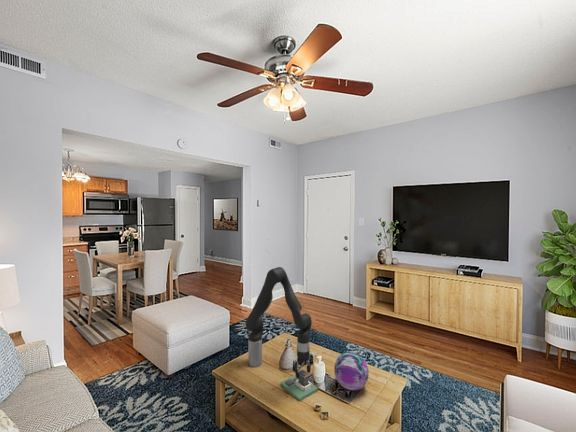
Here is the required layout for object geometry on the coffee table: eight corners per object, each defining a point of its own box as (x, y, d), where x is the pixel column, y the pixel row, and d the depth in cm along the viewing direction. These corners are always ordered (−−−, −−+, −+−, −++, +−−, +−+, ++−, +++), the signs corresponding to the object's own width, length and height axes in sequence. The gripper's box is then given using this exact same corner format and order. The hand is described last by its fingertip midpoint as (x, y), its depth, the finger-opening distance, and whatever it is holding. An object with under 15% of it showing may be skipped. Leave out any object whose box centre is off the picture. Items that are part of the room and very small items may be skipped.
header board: (280, 384, 165) (280, 379, 165) (298, 375, 173) (297, 370, 173) (299, 401, 151) (299, 395, 150) (317, 390, 159) (317, 384, 159)
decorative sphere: (365, 402, 149) (365, 367, 148) (330, 392, 157) (330, 358, 157) (370, 381, 167) (370, 349, 167) (338, 373, 176) (338, 343, 175)
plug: (298, 384, 162) (298, 371, 162) (302, 382, 165) (302, 369, 164) (304, 389, 158) (304, 375, 158) (308, 386, 161) (308, 373, 160)
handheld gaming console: (316, 352, 199) (307, 363, 186) (316, 354, 199) (307, 365, 186) (303, 349, 204) (294, 359, 191) (303, 351, 204) (294, 361, 191)
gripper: (307, 342, 168) (307, 367, 169) (289, 349, 159) (289, 376, 160) (316, 347, 162) (316, 373, 163) (298, 355, 154) (298, 383, 154)
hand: (303, 375), depth 162 cm, fingers open, 8 cm apart
